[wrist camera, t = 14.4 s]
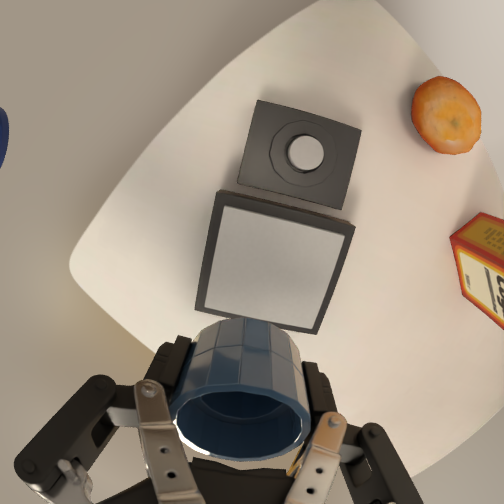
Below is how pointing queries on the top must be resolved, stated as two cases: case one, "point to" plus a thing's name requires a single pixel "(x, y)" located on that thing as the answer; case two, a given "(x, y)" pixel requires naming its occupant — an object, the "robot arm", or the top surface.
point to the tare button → (305, 153)
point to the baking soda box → (482, 264)
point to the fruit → (446, 116)
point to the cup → (242, 392)
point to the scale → (271, 262)
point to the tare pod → (279, 166)
